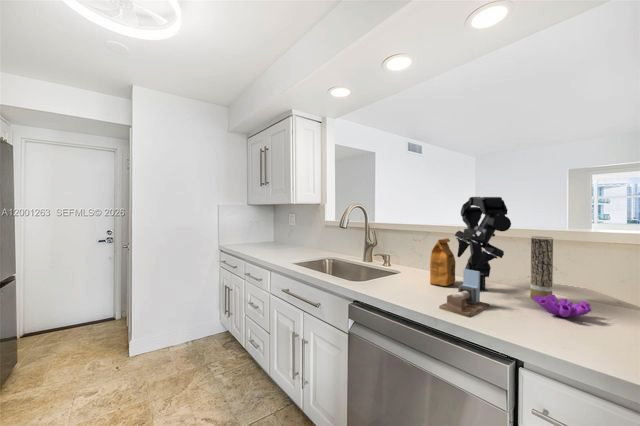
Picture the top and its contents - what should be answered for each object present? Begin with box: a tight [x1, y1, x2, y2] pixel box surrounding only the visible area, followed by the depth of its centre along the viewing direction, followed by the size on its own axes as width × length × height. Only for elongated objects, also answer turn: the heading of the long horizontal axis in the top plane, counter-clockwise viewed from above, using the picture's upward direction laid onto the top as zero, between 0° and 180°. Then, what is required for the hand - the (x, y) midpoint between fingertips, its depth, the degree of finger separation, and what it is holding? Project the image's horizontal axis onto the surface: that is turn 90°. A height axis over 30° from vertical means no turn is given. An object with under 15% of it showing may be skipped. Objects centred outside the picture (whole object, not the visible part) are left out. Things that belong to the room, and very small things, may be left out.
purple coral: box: [532, 294, 593, 318], centre depth 92 cm, size 11×15×10 cm
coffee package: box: [429, 238, 456, 287], centre depth 131 cm, size 10×12×22 cm
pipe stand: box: [438, 290, 490, 318], centre depth 99 cm, size 17×10×6 cm, turn 128°
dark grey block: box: [457, 284, 476, 304], centre depth 100 cm, size 2×5×5 cm, turn 38°
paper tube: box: [530, 235, 554, 299], centre depth 109 cm, size 7×7×25 cm
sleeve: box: [461, 268, 481, 303], centre depth 102 cm, size 3×5×11 cm, turn 38°
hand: (467, 262), depth 110 cm, fingers open, 9 cm apart
